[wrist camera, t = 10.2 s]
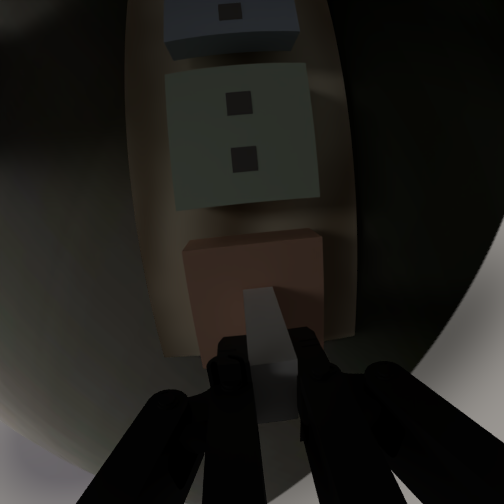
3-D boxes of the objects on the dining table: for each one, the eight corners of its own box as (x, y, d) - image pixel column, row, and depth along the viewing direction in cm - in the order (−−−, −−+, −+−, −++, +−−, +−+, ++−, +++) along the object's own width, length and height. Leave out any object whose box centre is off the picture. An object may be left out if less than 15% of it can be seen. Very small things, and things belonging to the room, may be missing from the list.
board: (166, 351, 21) (159, 371, 18) (132, -9, 14) (122, -26, 12) (350, 330, 21) (363, 347, 19) (316, -24, 14) (324, -42, 12)
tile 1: (206, 344, 19) (203, 369, 16) (189, 240, 17) (181, 251, 14) (312, 332, 19) (323, 355, 16) (308, 227, 17) (322, 236, 15)
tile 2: (185, 205, 17) (175, 211, 14) (175, 89, 15) (164, 74, 12) (306, 194, 17) (320, 196, 14) (294, 79, 15) (305, 62, 12)
